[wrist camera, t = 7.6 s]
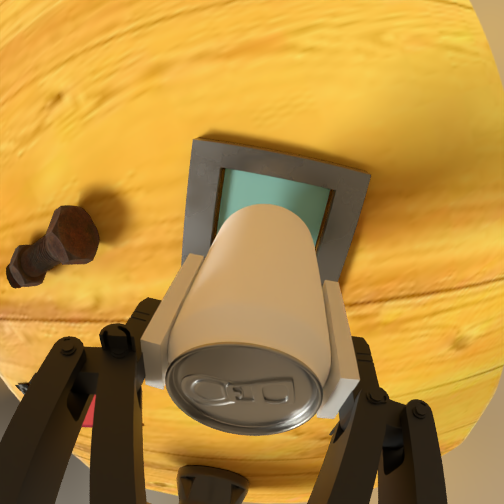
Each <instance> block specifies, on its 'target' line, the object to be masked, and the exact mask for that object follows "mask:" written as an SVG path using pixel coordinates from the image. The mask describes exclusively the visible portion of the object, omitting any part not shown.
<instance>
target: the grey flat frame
mask: <svg viewBox="0 0 504 504" xmlns="http://www.w3.org/2000/svg"><path fill="white" fill-rule="evenodd" d="M223 168H228V169H234V170H240V171H246V172H251V173H257V174H262V175H267V176H272V177H277V178H282V179H287V180H292V181H297V182H301V183H306V184H311V185H315V186H320V187H324V188H328V189H332V190H333V192H332V196H331V199H330V203H329V207H328V211H327V214H326V218H325V222H324V225H323V229H322V233H321V236H320V240H319V243H318V247H317V250H316V258H317V263H318V269H319V274H320V280H321V286H322V287H323V284H324V281H325V280H329V281H334V282H338V279H339V277H340V274H341V271H342V268H343V265H344V262H345V259H346V256H347V253H348V250H349V247H350V244H351V241H352V238H353V235H354V232H355V229H356V226H357V222H358V219H359V216H360V213H361V209H362V206H363V202H364V199H365V196H366V192H367V188H368V185H369V181H370V178H371V175H370V174H369V173H368V172H366V171H363V170H359V169H355V168H351V167H347V166H344V165H340V164H336V163H332V162H327V161H323V160H319V159H315V158H310V157H306V156H301V155H296V154H292V153H287V152H282V151H277V150H272V149H266V148H261V147H255V146H250V145H244V144H238V143H231V142H225V141H218V140H211V139H204V138H195V139H193V144H192V152H191V160H190V169H189V178H188V188H187V198H186V209H185V221H184V234H183V248H182V264H181V267H182V265H183V264H184V262H185V260H186V258H187V257H188V255H189V253H191V254H196V255H201V256H204V258H203V262H204V260H205V258H206V256H207V254H208V252H209V249H210V248H211V246H212V244H213V237H214V229H215V221H216V213H217V205H218V198H219V191H220V183H221V176H222V169H223Z"/></svg>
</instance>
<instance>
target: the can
mask: <svg viewBox="0 0 504 504" xmlns="http://www.w3.org/2000/svg"><path fill="white" fill-rule="evenodd" d="M168 363H169V367H168V369H167V372H166V376H165V383H166V388H167V391H168V393H169V395H170V397H171V399H172V400H173V402H174V403H175V404H176V405H177V406H178V407H179V408H180V409H181V410H182V411H183V412H184V413H185V414H187V415H188V416H190V417H191V418H193V419H194V420H196V421H198V422H200V423H202V424H204V425H206V426H208V427H211V428H214V429H217V430H220V431H223V432H227V433H232V434H239V435H250V436H261V435H272V434H278V433H282V432H286V431H289V430H292V429H294V428H297V427H299V426H301V425H303V424H304V423H306V422H307V421H309V420H310V419H311V418H312V417H313V416H314V415H315V414H316V413H317V411H318V410H319V408H320V406H321V404H322V401H323V386H324V385H325V382H326V380H327V378H328V375H329V372H330V366H331V352H330V341H329V333H328V326H327V319H326V312H325V305H324V299H323V292H322V286H321V280H320V274H319V269H318V263H317V258H316V252H315V247H314V243H313V239H312V236H311V233H310V231H309V229H308V227H307V226H306V224H305V223H304V222H303V221H302V220H301V219H300V218H299V217H298V216H297V215H296V214H294V213H293V212H291V211H290V210H288V209H285V208H283V207H280V206H277V205H272V204H255V205H250V206H247V207H244V208H242V209H240V210H238V211H236V212H235V213H233V214H232V215H231V216H230V217H229V218H228V219H227V220H226V221H225V222H224V224H223V225H222V227H221V228H220V230H219V232H218V234H217V236H216V238H215V240H214V242H213V244H212V246H211V248H210V249H209V252H208V254H207V256H206V258H205V260H204V262H203V264H202V266H201V268H200V270H199V272H198V274H197V276H196V278H195V280H194V282H193V284H192V286H191V289H190V291H189V293H188V295H187V297H186V299H185V301H184V304H183V306H182V308H181V310H180V312H179V315H178V317H177V319H176V321H175V324H174V326H173V329H172V331H171V334H170V337H169V342H168Z"/></svg>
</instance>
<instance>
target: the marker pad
mask: <svg viewBox="0 0 504 504" xmlns="http://www.w3.org/2000/svg"><path fill="white" fill-rule="evenodd" d="M329 193H330V189H328V188H324V187H320V186H315V185H311V184H306V183H301V182H297V181H292V180H287V179H282V178H277V177H272V176H267V175H262V174H257V173H251V172H246V171H240V170H234V169H228V168H226V169H225V175H224V182H223V189H222V196H221V204H220V211H219V218H218V226H217V234H218V232H219V230H220V228H221V227H222V225H223V224H224V222H225V221H226V220H227V219H228V218H229V217H230V216H231V215H232V214H233V213H235V212H236V211H238V210H240V209H242V208H244V207H247V206H250V205H255V204H272V205H277V206H280V207H283V208H285V209H288V210H290V211H291V212H293V213H294V214H296V215H297V216H298V217H299V218H300V219H301V220H302V221H303V222H304V223H305V224H306V226H307V227H308V229H309V231H310V233H311V236H312V239H313V243H314V247H315V245H316V241H317V237H318V234H319V230H320V227H321V223H322V219H323V216H324V212H325V208H326V204H327V200H328V197H329ZM217 234H216V236H217Z"/></svg>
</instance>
